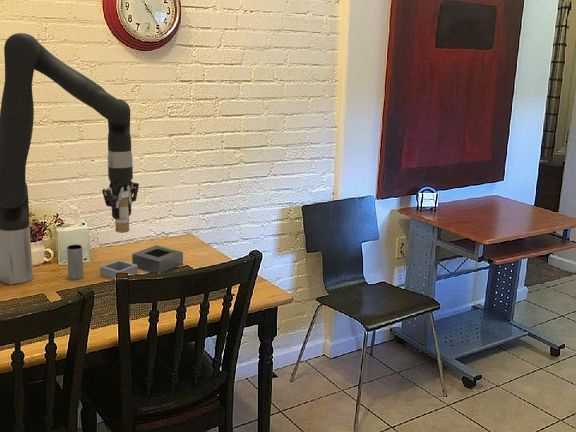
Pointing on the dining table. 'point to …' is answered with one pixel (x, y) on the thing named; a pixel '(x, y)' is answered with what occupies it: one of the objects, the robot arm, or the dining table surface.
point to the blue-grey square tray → (118, 268)
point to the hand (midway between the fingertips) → (121, 216)
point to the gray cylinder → (75, 262)
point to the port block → (157, 259)
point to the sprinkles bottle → (123, 214)
